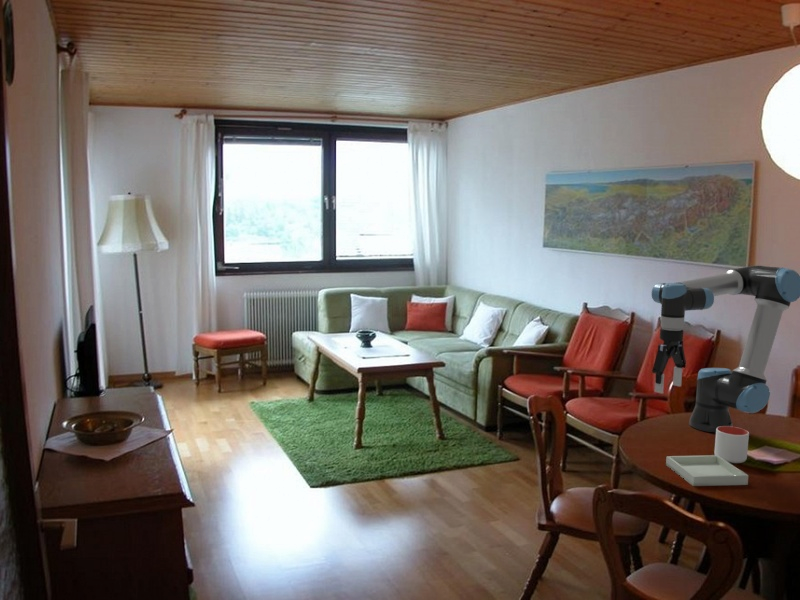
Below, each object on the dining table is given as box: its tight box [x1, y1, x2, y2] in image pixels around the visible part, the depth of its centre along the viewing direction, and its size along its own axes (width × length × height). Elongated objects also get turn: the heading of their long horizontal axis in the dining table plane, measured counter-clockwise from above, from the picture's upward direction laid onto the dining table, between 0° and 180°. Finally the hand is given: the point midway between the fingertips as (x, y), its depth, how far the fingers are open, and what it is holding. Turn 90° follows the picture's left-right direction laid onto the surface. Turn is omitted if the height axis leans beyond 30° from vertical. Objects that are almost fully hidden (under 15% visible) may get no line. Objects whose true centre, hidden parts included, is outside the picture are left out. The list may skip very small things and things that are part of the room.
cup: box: [713, 426, 750, 464], centre depth 240 cm, size 10×10×10 cm
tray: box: [665, 454, 749, 487], centre depth 226 cm, size 18×18×3 cm
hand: (668, 389), depth 246 cm, fingers open, 13 cm apart
